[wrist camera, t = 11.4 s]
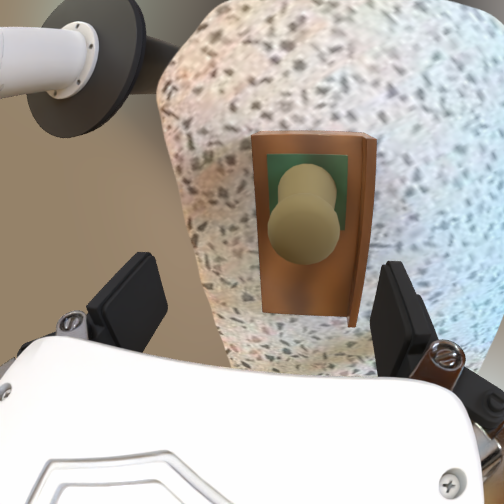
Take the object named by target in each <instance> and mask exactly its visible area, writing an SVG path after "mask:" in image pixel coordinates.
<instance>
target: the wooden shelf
mask: <svg viewBox="0 0 504 504" xmlns="http://www.w3.org/2000/svg"><path fill="white" fill-rule="evenodd" d="M251 142H252V157H253V171H254V186H255V201H256V216H257V232H258V247H259V263H260V279H261V296H262V312H264V313H278V314H295V315H314V316H340V317H347V323H348V327H356V323H357V318H358V313H359V307H360V302H361V296H362V291H363V285H364V279H365V272H366V266H367V259H368V251H369V243H370V235H371V226H372V216H373V205H374V192H375V176H376V151H377V139H375V138H373V137H371V136H370V135H368V134H366V133H362V132H344V131H308V130H292V131H260V132H257V133H255V134H253V135H251ZM300 164H314V165H317V166H319V167H322V168H323V169H324V170H326V171H327V172H328V173H329V174H330V175H331V177H332V178H333V180H334V181H335V185H336V189H337V196H336V203H335V208H334V211H335V212H336V214H337V217H338V221H339V225H340V235H339V240H338V242H337V244H336V246H335V248H334V250H333V252H332V253H331V254H330V255H329V256H328V257H327V258H325V259H323V260H322V261H320V262H318V263H314V264H309V265H300V264H294V263H292V262H289V261H286V260H285V259H284V258H282V257H281V256H279V255H278V254H277V253H276V251H275V250H274V249H273V247H272V245H271V243H270V240H269V237H268V221H269V218H270V215H271V213H272V211H273V209H274V208H275V207H276V205H277V204H278V185H279V182H280V179H281V177H282V176H283V175H284V174H285V172H286V171H287V170H289V169H290V168H292V167H293V166H296V165H300Z"/></svg>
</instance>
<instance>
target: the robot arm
mask: <svg viewBox="0 0 504 504" xmlns="http://www.w3.org/2000/svg"><path fill="white" fill-rule="evenodd" d="M98 52H99V41H98V36H97V33H96V31H95V29H94V28H93V27H92V26H91V25H90V24H88V23H85V22H79V21H78V22H72V23H70V24H67V25H66V26H64V27H63V28H62V29H53V28H36V27H0V99H2V98H7V97H12V96H18V95H23V94H29V93H36V92H43V91H46V92H47V93H48V94H49V95H50V96H52V97H53V98H56V99H65V98H69V97H72V96H74V95H75V94H77V93H78V92H79V91H80V90H81V89H82V88H83V87H84V86H85V85H86V83H87V82H88V80H89V79H90V77H91V75H92V73H93V71H94V68H95V65H96V62H97V59H98ZM86 308H87V310H88V314H87V315H86V314H85V313H84V312H83V311H71V312H69V313H66V314H65V315H64V316H62V317H61V318H60V319H59V321H58V322H57V325H56V332H54V333H51V334H48V335H46V336H43V337H41V338H38V339H35V340H33V341H30V342H27V343H25V344H23V345H22V347H21V348H20V350H19V352H18V354H17V359H15V357H13V358H12V359H10V360H9V361H7V362H6V363H4V364H3V365H1V366H0V504H504V392H503V391H502V390H501V389H499V388H498V387H496V386H495V385H493V384H491V383H490V382H488V381H487V380H485V379H484V378H482V377H480V376H479V375H477V374H476V373H474V372H472V371H471V370H469V369H468V368H466V367H464V365H465V361H466V358H465V354H464V352H463V350H462V349H461V347H460V346H459V345H457V344H456V343H454V342H452V341H449V340H443V339H442V340H439V339H438V337H437V334H436V332H435V329H434V326H433V324H432V321H431V319H430V316H429V314H428V312H427V309H426V307H425V304H424V302H423V300H422V298H421V296H420V295H416V292H415V290H414V288H413V285H412V283H411V281H410V279H409V277H408V274H407V272H406V270H405V268H404V266H403V264H402V262H400V261H387V263H386V265H382V267H381V271H380V276H379V281H378V286H377V291H376V296H375V300H374V305H373V309H372V313H371V317H370V329H371V335H372V340H373V346H374V353H375V359H376V366H377V373H378V377H359V376H322V375H301V374H286V373H273V372H262V371H253V370H243V369H235V368H227V367H220V366H211V365H205V364H199V363H193V362H187V361H181V360H176V359H170V358H165V357H160V356H154V355H150V354H145V353H143V351H144V349H145V347H146V346H147V344H148V342H149V341H150V339H151V337H152V336H153V334H154V333H155V331H156V329H157V328H158V326H159V324H160V323H161V321H162V319H163V318H164V316H165V315H166V313H167V310H168V305H167V301H166V297H165V294H164V290H163V286H162V283H161V279H160V275H159V271H158V267H157V264H156V260H155V257H154V256H152V255H151V253H149V252H137V253H136V254H135V255H134V256H133V257H132V258H131V259H130V260H129V261H128V262H127V263H126V264H125V265H124V266H123V267H122V268H121V269H120V270H119V271H118V272H117V273H116V274H115V275H114V277H113V278H111V280H110V281H109V282H108V283H107V284H106V285H105V286H104V287H103V288H102V289H101V290H100V291H99V293H98V294H97V295H96V296H95V297H94V298H93V299H92V300H91V301H90V302H89V303H88V305H87V306H86Z"/></svg>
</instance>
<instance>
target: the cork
mask: <svg viewBox="0 0 504 504" xmlns="http://www.w3.org/2000/svg"><path fill="white" fill-rule="evenodd" d="M336 196H337V189H336V185H335V181H334V180H333V178H332V177H331V175H330V174H329V173H328V172H327V171H326V170H324V169H323V168H322V167H319V166H317V165H314V164H300V165H296V166H293V167H292V168H290V169H289V170H287V171H286V172H285V174H284V175H283V176H282V177H281V179H280V182H279V185H278V204H277V205H276V207H275V208H274V209H273V211H272V213H271V215H270V218H269V221H268V237H269V240H270V243H271V245H272V247H273V249H274V250H275V251H276V253H277V254H278V255H279V256H281V257H282V258H284V259H285V260H286V261H289V262H292V263H294V264H300V265H309V264H314V263H318V262H320V261H322V260H323V259H325V258H327V257H328V256H329V255H330V254H331V253H332V252H333V250H334V248H335V246H336V244H337V242H338V240H339V235H340V225H339V221H338V217H337V214H336V212H335V211H334V208H335V203H336Z"/></svg>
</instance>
